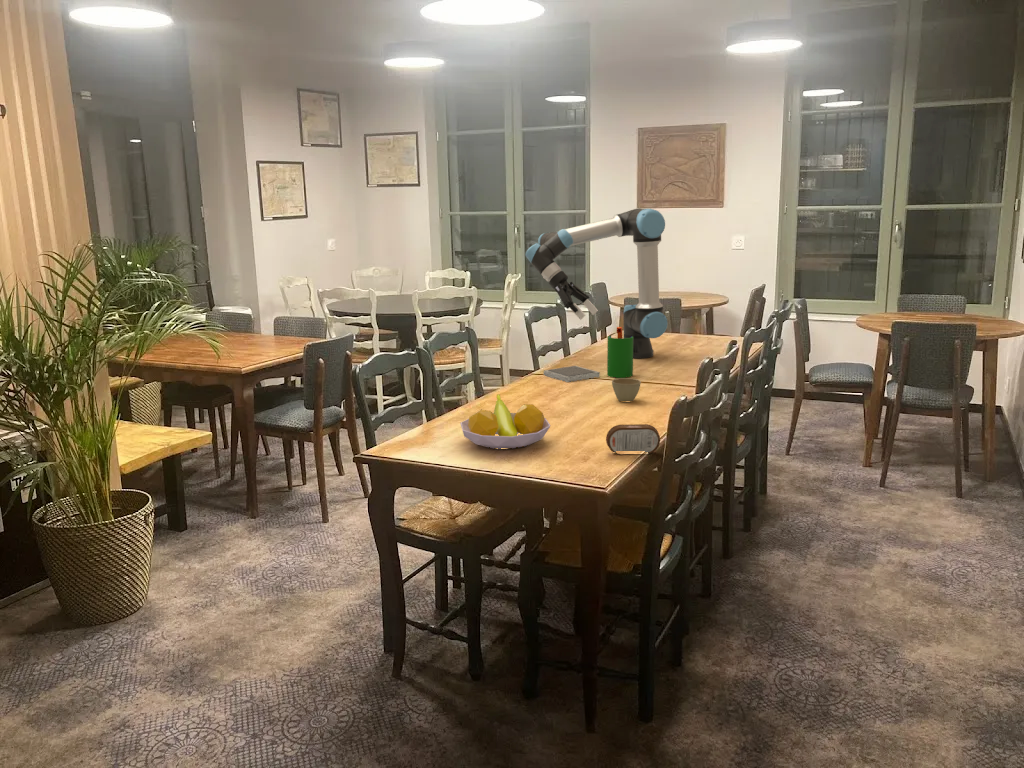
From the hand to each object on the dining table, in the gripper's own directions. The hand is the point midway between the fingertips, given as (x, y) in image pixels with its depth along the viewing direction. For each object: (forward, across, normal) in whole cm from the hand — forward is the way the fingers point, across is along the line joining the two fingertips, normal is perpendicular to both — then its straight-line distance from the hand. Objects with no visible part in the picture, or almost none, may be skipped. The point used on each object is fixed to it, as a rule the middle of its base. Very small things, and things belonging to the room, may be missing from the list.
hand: (589, 315), depth 336 cm
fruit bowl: (+27, +99, -7) cm, 103 cm away
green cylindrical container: (+26, 0, -8) cm, 27 cm away
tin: (+54, +95, +20) cm, 111 cm away
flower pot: (+38, +38, +4) cm, 54 cm away
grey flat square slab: (+14, +8, -20) cm, 25 cm away
